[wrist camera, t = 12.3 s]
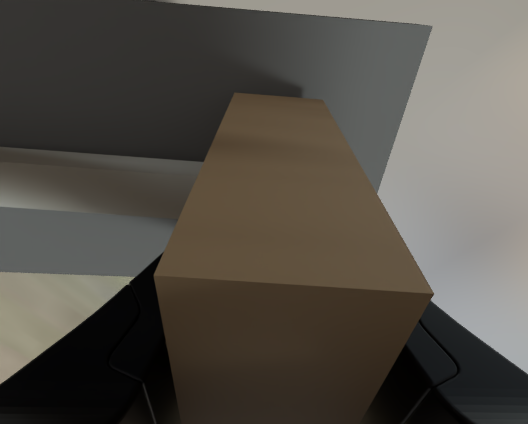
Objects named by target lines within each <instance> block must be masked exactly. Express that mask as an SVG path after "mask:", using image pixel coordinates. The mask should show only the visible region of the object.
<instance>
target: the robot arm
mask: <svg viewBox="0 0 528 424" xmlns="http://www.w3.org/2000/svg"><path fill="white" fill-rule="evenodd" d="M163 253H164V252H162V253H161V254H160V255H159V256H158V257H157V258H156V259H155V260H154V261H153V262H151V263H150V264H149V265H148V266H147V267H146V268H145V269H144V270H143V271H142V272H140V273H139V274H138V275H137V276H136V277H135V278H134V279H133V280H132V281H130V283H129V285H126V286H125V287H124V288H123V289H121V290H120V291H119V292H118V293H117V294H116V295H115V296H114V297H112V298H111V299H110V300H109V301H108V302H107V303H105V304H104V305H103V306H102V307H101V308H100V309H98V310H97V311H96V312H95V313H94V314H92V315H91V316H90V317H89V318H87V319H86V320H85V321H83V322H82V323H81V324H80V325H78V326H77V327H76V328H75V329H73V330H72V331H71V332H69V333H68V334H67V335H65V336H64V337H63V338H61V339H60V340H59V341H57V342H56V343H55V344H53V345H52V346H51V347H49V348H48V349H47V350H45V351H44V352H43V353H41V354H40V355H39V356H37V357H36V358H35V359H33V360H32V361H31V362H29V363H28V364H27V365H25V366H24V367H23V368H22V369H20V370H19V371H18V372H16V373H15V374H14V375H12V376H11V377H10V378H8V379H7V380H6V381H4V382H3V383H1V384H0V424H181V419H180V414H179V409H178V403H177V398H176V393H175V387H174V382H173V377H172V371H171V366H170V361H169V355H168V350H167V345H166V339H165V334H164V329H163V323H162V318H161V313H160V307H159V302H158V297H157V291H156V286H155V281H154V273H155V271H156V269H157V266H158V264H159V262H160V260H161V257H162V255H163ZM359 424H528V374H527V373H525V372H524V371H523V370H521V369H520V368H519V367H517V366H516V365H515V364H513V363H512V362H510V361H509V360H508V359H506V358H505V357H504V356H502V355H501V354H499V353H498V352H496V351H495V350H494V349H493V348H491V347H490V346H488V345H487V344H486V343H484V342H483V341H481V340H480V339H479V338H478V337H476V336H475V335H474V334H472V333H471V332H470V331H468V330H467V329H466V328H464V327H463V326H461V325H460V324H459V323H457V322H456V321H455V320H454V319H453V318H451V317H450V316H449V315H448V314H446V313H445V312H444V311H443V310H441V309H440V308H439V307H438V306H437V305H435V304H434V303H433V302H432V301H431V300H430V302H429V303H428V305H427V307H426V309H425V310H424V312H423V314H422V316H421V317H420V319H419V321H418V323H417V324H416V326H415V328H414V330H413V331H412V333H411V335H410V337H409V338H408V340H407V342H406V343H405V345H404V347H403V349H402V350H401V352H400V354H399V356H398V357H397V359H396V361H395V363H394V364H393V366H392V368H391V370H390V371H389V373H388V375H387V377H386V378H385V380H384V382H383V383H382V385H381V387H380V389H379V390H378V392H377V394H376V396H375V397H374V399H373V401H372V403H371V404H370V406H369V408H368V410H367V411H366V413H365V415H364V417H363V418H362V420H361V422H360V423H359Z"/></svg>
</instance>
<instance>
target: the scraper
mask: <svg viewBox="0 0 528 424" xmlns="http://www.w3.org/2000/svg"><path fill="white" fill-rule="evenodd" d="M0 207H13V208H27V209H42V210H56V211H70V212H84V213H99V214H113V215H127V216H141V217H155V218H170V219H178V221H177V223H176V226H175V228H174V230H173V232H172V235H171V237H170V239H169V242H168V244H167V246H166V248H165V251H164V253H163V255H162V257H161V260H160V262H159V264H158V266H157V269H156V271H155V273H154V281H155V286H156V291H157V297H158V302H159V307H160V313H161V318H162V323H163V329H164V334H165V339H166V345H167V350H168V355H169V361H170V366H171V371H172V377H173V382H174V387H175V393H176V398H177V403H178V409H179V414H180V419H181V424H359V423H360V422H361V420H362V418H363V417H364V415H365V413H366V411H367V410H368V408H369V406H370V404H371V403H372V401H373V399H374V397H375V396H376V394H377V392H378V390H379V389H380V387H381V385H382V383H383V382H384V380H385V378H386V377H387V375H388V373H389V371H390V370H391V368H392V366H393V364H394V363H395V361H396V359H397V357H398V356H399V354H400V352H401V350H402V349H403V347H404V345H405V343H406V342H407V340H408V338H409V337H410V335H411V333H412V331H413V330H414V328H415V326H416V324H417V323H418V321H419V319H420V317H421V316H422V314H423V312H424V310H425V309H426V307H427V305H428V303H429V302H430V300H431V298H432V297H433V295H434V293H433V291H432V289H431V288H430V286H429V284H428V282H427V281H426V279H425V277H424V275H423V274H422V272H421V270H420V268H419V267H418V265H417V263H416V261H415V260H414V258H413V256H412V255H411V253H410V251H409V249H408V247H407V246H406V244H405V242H404V240H403V239H402V237H401V235H400V234H399V232H398V230H397V228H396V227H395V225H394V223H393V221H392V220H391V218H390V216H389V214H388V212H387V211H386V209H385V207H384V205H383V204H382V202H381V200H380V199H379V197H378V195H377V193H376V192H375V190H374V188H373V186H372V185H371V183H370V181H369V179H368V178H367V176H366V174H365V172H364V171H363V169H362V167H361V165H360V164H359V162H358V160H357V158H356V157H355V155H354V153H353V151H352V150H351V148H350V146H349V144H348V143H347V141H346V139H345V137H344V136H343V134H342V132H341V130H340V129H339V127H338V125H337V123H336V122H335V120H334V118H333V116H332V115H331V113H330V111H329V109H328V108H327V106H326V104H325V102H324V101H323V100H321V99H308V98H296V97H284V96H271V95H259V94H246V93H234V95H233V97H232V99H231V102H230V104H229V106H228V108H227V111H226V113H225V115H224V117H223V120H222V122H221V124H220V126H219V129H218V131H217V133H216V135H215V138H214V140H213V142H212V144H211V147H210V149H209V151H208V153H207V156H206V158H205V160H204V162H196V161H183V160H170V159H156V158H143V157H130V156H116V155H103V154H90V153H76V152H63V151H50V150H36V149H23V148H10V147H0Z"/></svg>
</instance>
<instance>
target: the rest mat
mask: <svg viewBox="0 0 528 424" xmlns="http://www.w3.org/2000/svg"><path fill="white" fill-rule="evenodd" d="M431 29H432V26H428V25H419V24H409V23H397V22H386V21H374V20H363V19H351V18H340V17H327V16H316V15H305V14H304V15H303V14H291V13H280V12H270V11H257V10H246V9H235V8H222V7H211V6H200V5H188V4H176V3H165V2H153V1H141V0H0V147H10V148H23V149H36V150H50V151H63V152H76V153H90V154H103V155H116V156H130V157H143V158H156V159H170V160H183V161H196V162H204V160H205V158H206V156H207V153H208V151H209V149H210V147H211V144H212V142H213V140H214V138H215V135H216V133H217V131H218V129H219V126H220V124H221V122H222V120H223V117H224V115H225V113H226V111H227V108H228V106H229V104H230V102H231V99H232V97H233V95H234V93H246V94H259V95H271V96H284V97H296V98H308V99H321V100H323V101H324V102H325V104H326V106H327V108H328V109H329V111H330V113H331V115H332V116H333V118H334V120H335V122H336V123H337V125H338V127H339V129H340V130H341V132H342V134H343V136H344V137H345V139H346V141H347V143H348V144H349V146H350V148H351V150H352V151H353V153H354V155H355V157H356V158H357V160H358V162H359V164H360V165H361V167H362V169H363V171H364V172H365V174H366V176H367V178H368V179H369V181H370V183H371V185H372V186H373V188H374V190H375V192H376V193H377V192H378V189H379V186H380V183H381V180H382V177H383V174H384V171H385V168H386V165H387V162H388V159H389V156H390V153H391V150H392V147H393V144H394V141H395V138H396V135H397V132H398V129H399V126H400V122H401V120H402V117H403V114H404V111H405V108H406V105H407V102H408V99H409V96H410V93H411V89H412V87H413V83H414V80H415V77H416V75H417V72H418V69H419V66H420V63H421V59H422V56H423V54H424V51H425V48H426V45H427V41H428V38H429V35H430V32H431ZM177 221H178V219H170V218H155V217H141V216H127V215H113V214H99V213H84V212H70V211H56V210H42V209H27V208H13V207H0V272H21V273H48V274H75V275H103V276H130V277H136V276H137V275H138V274H139V273H140V272H142V271H143V270H144V269H145V268H146V267H147V266H148V265H149V264H150V263H151V262H153V261H154V260H155V259H156V258H157V257H158V256H159V255H160V254H161V253H162V252H164V251H165V248H166V246H167V244H168V242H169V239H170V237H171V235H172V232H173V230H174V228H175V226H176V223H177Z"/></svg>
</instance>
